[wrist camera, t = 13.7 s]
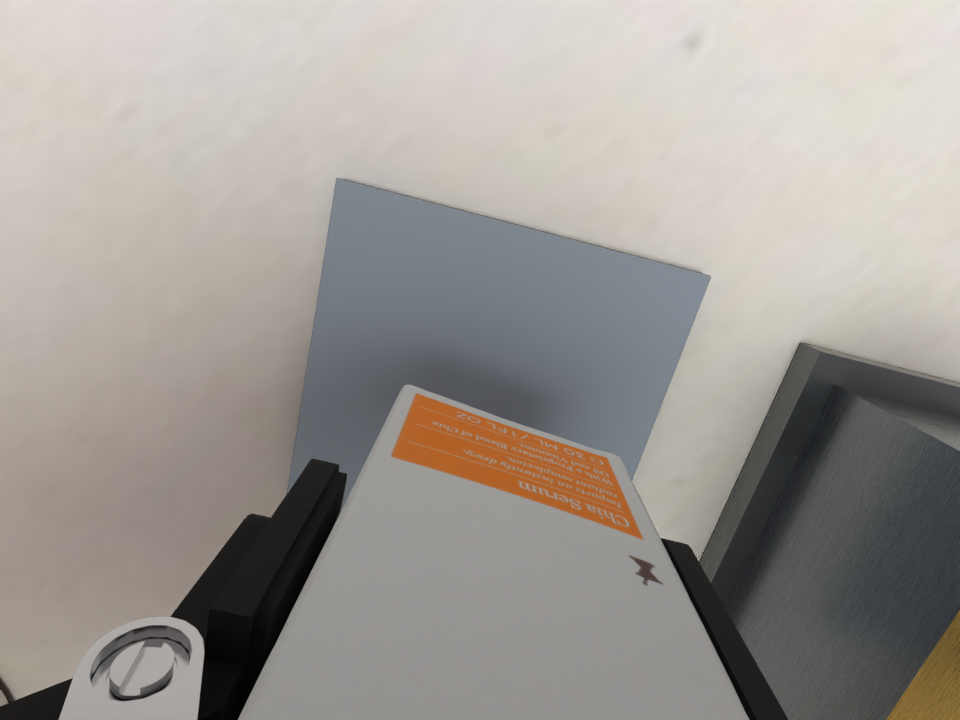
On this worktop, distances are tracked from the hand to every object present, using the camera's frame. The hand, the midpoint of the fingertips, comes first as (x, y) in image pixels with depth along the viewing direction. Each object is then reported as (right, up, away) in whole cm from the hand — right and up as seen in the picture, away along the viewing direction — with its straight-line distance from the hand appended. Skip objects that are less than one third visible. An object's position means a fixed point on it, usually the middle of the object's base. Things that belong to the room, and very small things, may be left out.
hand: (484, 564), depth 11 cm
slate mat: (0, +3, +9) cm, 10 cm away
